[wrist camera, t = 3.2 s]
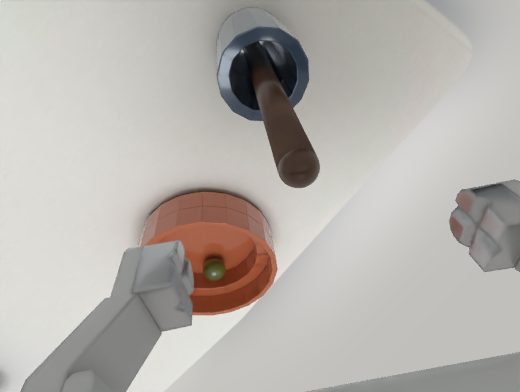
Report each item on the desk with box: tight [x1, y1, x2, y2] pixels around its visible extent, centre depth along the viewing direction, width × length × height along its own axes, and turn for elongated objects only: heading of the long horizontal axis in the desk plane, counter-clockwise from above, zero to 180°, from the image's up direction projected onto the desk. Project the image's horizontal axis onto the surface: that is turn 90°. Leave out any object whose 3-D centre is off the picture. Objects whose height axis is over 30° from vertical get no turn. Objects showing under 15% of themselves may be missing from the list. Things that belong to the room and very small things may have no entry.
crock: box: [216, 7, 309, 121], centre depth 24 cm, size 6×6×9 cm
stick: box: [244, 42, 320, 188], centre depth 19 cm, size 2×2×20 cm
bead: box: [203, 258, 226, 281], centre depth 42 cm, size 3×3×3 cm
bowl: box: [138, 192, 277, 315], centre depth 39 cm, size 16×16×6 cm
